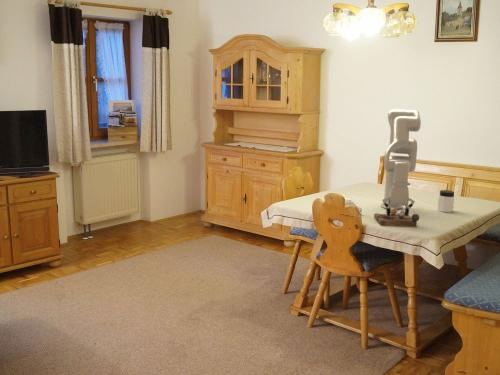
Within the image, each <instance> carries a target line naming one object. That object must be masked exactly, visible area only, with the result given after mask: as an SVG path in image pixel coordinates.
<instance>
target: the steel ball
mask: <svg viewBox="0 0 500 375" xmlns="http://www.w3.org/2000/svg"><path fill="white" fill-rule="evenodd" d="M396 214H397V216H398V217H399V218H403V217H404V216H405V211H403V210H399V211H397V213H396Z"/></svg>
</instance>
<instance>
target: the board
mask: <svg viewBox="0 0 500 375" xmlns="http://www.w3.org/2000/svg"><path fill="white" fill-rule="evenodd" d="M373 215H374V216H373V219H374V218H375V219H376V220H375V219H374V220H375V221H376V222H377V223H378V224H379V225H380V226H389V227H390V226H391V227H415V228H417V224H418V221H413V220H412V216H411V215H410V214H408V216H406V215H405V216H404V217H403V218H399V217H398V216H397V213H396V214H395V215H391V214H390V216H388V215H387V213H374V214H373Z"/></svg>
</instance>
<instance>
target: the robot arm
mask: <svg viewBox="0 0 500 375" xmlns="http://www.w3.org/2000/svg"><path fill="white" fill-rule="evenodd" d="M421 120H422V119H421V115H420V112H419V111H418V110H417V109H408V108H407V109H406V108H404V109H403V108H393V109H390V110H388V112H387V121H388V124H389V129H390V135H389V146H388V147H387V148H386V150H385V151H384V159H383V168H384V171H385V182H384V183H385V185H384V194H383V195H384V196H383V199H382V203H381V205H380V207H381V208H382V209H383V208H384V209H386V212H385V214H387V215H388V216H390V209H391V208H395V209H396V210H401V209H403V207H404V206H405V208H404V213H405V215H406V216H408V215H410V213H409V212H410V209H411V208H412V207H414V204H415V202H416V201H415V200H414V199H412V198H410V195H409V194H410V193H409V187H408V186H411V183H410V182H408V181H409V180H408V179H409V173H413V172H415V170H416V167H417V166H416V165H417V157H418V156H417V155H418V141H417V139H416V138H412V137H410V132H416V133H417V132H419V131H420V129H421V123H422V122H421ZM391 153H392V154H393V155H391ZM394 154H399V155H394ZM406 155H407V156H406ZM409 201H410V203H409Z"/></svg>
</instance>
